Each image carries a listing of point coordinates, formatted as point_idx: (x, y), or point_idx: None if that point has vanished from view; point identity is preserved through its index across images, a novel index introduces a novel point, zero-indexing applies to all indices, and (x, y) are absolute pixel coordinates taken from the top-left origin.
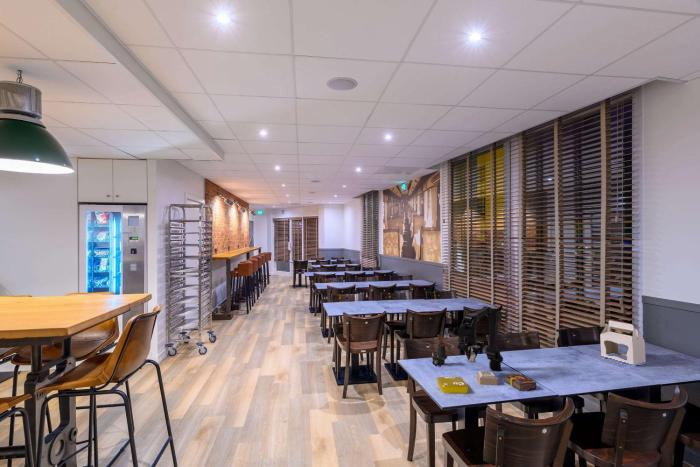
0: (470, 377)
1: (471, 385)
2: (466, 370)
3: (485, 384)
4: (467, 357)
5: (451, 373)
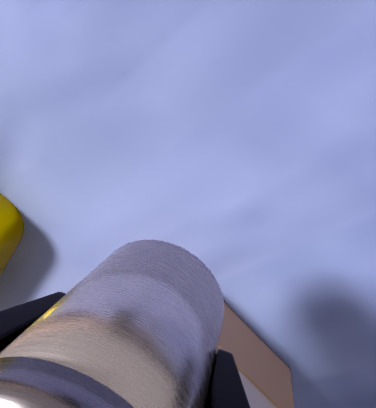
0: (191, 207)
1: (62, 290)
2: (365, 48)
3: None
4: (18, 315)
5: (130, 8)
